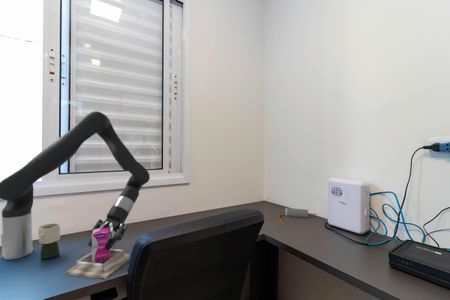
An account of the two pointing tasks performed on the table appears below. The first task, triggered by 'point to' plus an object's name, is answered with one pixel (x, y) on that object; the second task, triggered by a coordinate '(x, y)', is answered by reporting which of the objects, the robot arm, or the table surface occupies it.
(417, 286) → the table surface
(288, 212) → the motor
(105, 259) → the supplement box
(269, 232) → the table surface
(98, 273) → the plate
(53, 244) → the character mug
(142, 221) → the table surface
